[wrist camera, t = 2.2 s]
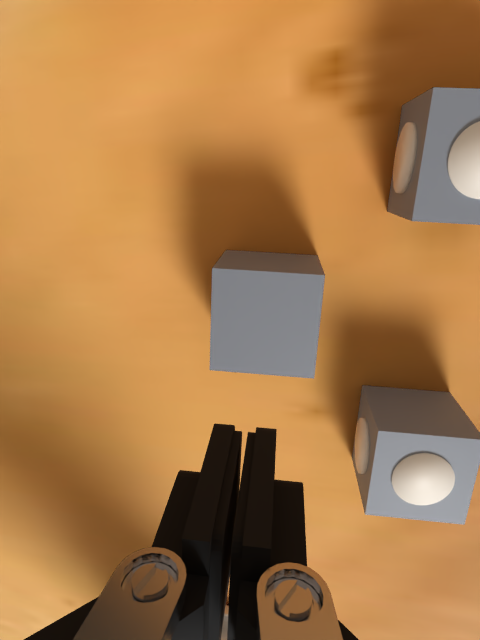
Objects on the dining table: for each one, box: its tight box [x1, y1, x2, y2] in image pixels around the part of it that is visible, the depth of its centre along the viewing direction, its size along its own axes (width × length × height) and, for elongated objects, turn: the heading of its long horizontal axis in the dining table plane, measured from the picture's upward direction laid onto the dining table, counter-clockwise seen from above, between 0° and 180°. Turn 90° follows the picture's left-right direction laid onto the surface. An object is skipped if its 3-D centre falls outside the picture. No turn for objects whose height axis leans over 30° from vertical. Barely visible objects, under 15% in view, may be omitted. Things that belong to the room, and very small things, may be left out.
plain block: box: [210, 250, 325, 378], centre depth 28 cm, size 6×6×6 cm
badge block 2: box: [352, 385, 480, 524], centre depth 30 cm, size 6×6×6 cm
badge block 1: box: [387, 87, 480, 225], centre depth 24 cm, size 6×6×6 cm
